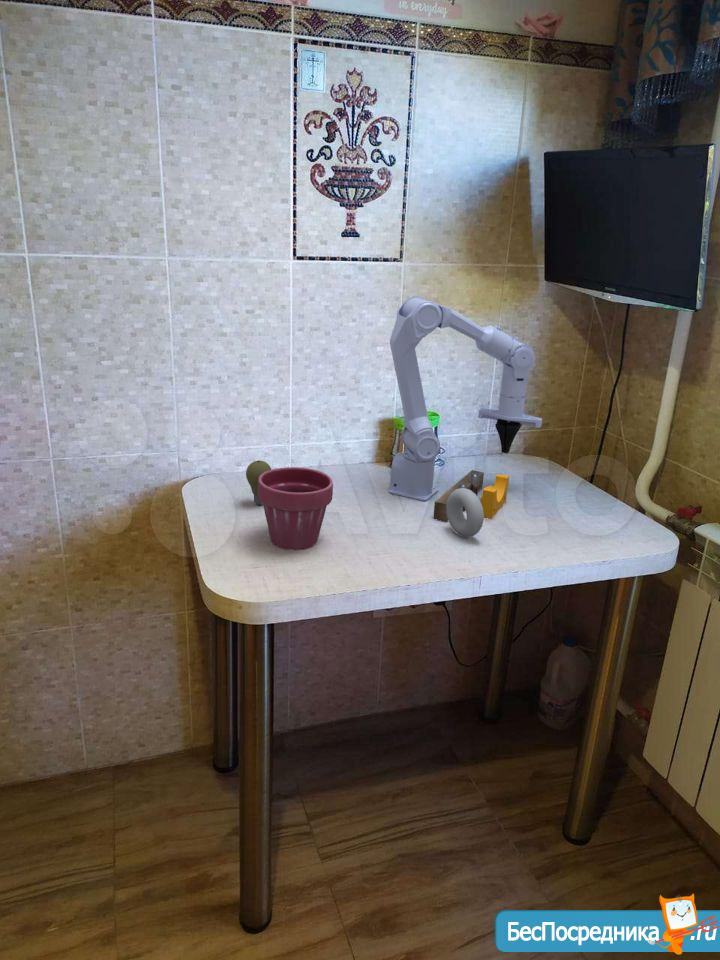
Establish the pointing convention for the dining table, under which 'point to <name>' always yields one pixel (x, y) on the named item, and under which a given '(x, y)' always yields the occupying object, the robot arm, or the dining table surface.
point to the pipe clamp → (494, 496)
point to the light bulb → (256, 476)
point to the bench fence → (469, 481)
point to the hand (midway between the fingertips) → (505, 451)
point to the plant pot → (294, 505)
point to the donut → (473, 512)
